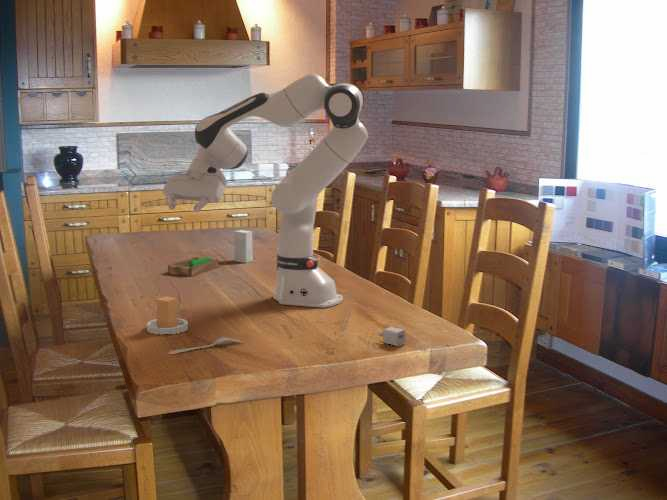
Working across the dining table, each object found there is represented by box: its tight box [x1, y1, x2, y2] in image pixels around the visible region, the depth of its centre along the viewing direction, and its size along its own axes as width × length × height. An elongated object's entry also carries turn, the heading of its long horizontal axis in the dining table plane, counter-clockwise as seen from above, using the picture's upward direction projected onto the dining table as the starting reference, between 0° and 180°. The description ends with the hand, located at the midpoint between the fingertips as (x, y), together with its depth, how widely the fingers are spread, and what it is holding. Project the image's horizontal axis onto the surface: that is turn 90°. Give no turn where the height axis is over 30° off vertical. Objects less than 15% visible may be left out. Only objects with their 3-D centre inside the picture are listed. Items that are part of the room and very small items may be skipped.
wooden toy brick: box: [155, 296, 179, 328], centre depth 214 cm, size 4×4×8 cm
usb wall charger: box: [377, 326, 407, 347], centre depth 205 cm, size 4×7×4 cm, turn 48°
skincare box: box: [233, 229, 254, 264], centre depth 302 cm, size 6×4×12 cm
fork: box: [169, 336, 243, 355], centre depth 200 cm, size 3×21×3 cm, turn 120°
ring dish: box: [146, 317, 189, 336], centre depth 215 cm, size 11×11×2 cm
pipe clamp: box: [189, 256, 211, 267], centre depth 285 cm, size 11×4×5 cm, turn 155°
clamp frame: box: [167, 256, 219, 277], centre depth 287 cm, size 10×18×3 cm, turn 155°
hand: (183, 209), depth 237 cm, fingers open, 8 cm apart
